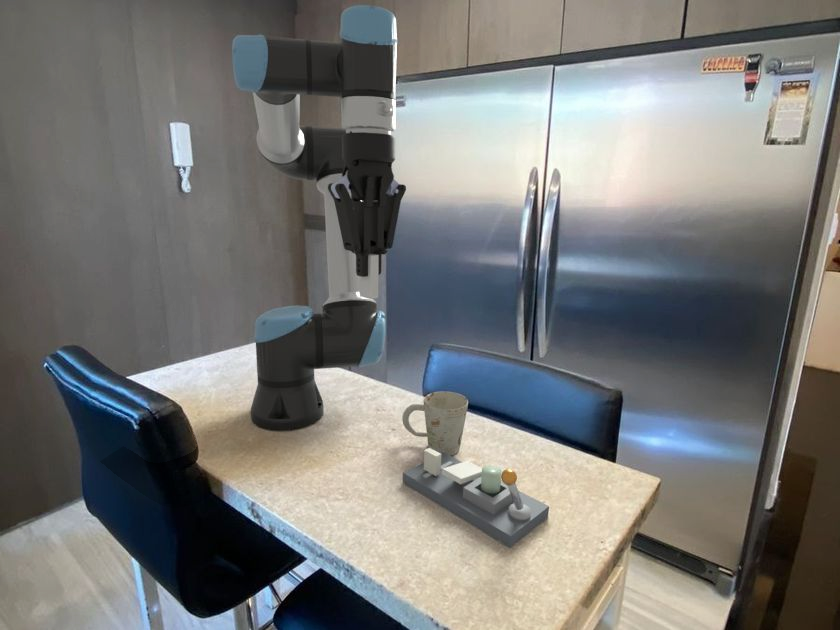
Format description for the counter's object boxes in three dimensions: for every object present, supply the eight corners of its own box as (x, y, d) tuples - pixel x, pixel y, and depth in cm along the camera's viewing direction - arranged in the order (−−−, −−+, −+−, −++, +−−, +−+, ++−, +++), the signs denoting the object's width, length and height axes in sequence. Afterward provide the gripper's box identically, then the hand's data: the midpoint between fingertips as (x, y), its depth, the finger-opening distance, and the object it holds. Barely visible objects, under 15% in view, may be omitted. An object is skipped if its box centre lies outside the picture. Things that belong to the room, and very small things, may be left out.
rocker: (441, 473, 83) (442, 468, 83) (466, 465, 88) (467, 460, 88) (460, 484, 81) (461, 478, 80) (485, 475, 85) (486, 470, 85)
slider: (423, 469, 88) (424, 450, 87) (428, 466, 88) (429, 447, 88) (435, 476, 86) (436, 456, 85) (440, 473, 87) (441, 453, 86)
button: (476, 487, 80) (478, 470, 80) (488, 480, 82) (489, 463, 82) (492, 496, 78) (493, 478, 78) (504, 488, 80) (505, 471, 80)
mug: (462, 462, 95) (465, 411, 92) (396, 453, 97) (396, 404, 95) (467, 440, 103) (470, 393, 100) (406, 433, 105) (407, 387, 103)
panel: (402, 483, 88) (403, 463, 87) (442, 461, 95) (443, 443, 94) (509, 548, 73) (511, 525, 72) (548, 517, 80) (550, 495, 79)
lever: (508, 508, 77) (496, 475, 72) (517, 497, 78) (505, 463, 73) (521, 515, 75) (509, 481, 71) (529, 503, 76) (518, 469, 72)
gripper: (347, 127, 66) (349, 308, 72) (420, 135, 75) (416, 295, 81) (314, 130, 71) (318, 298, 77) (385, 137, 80) (384, 287, 86)
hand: (368, 296), depth 79 cm, fingers closed
